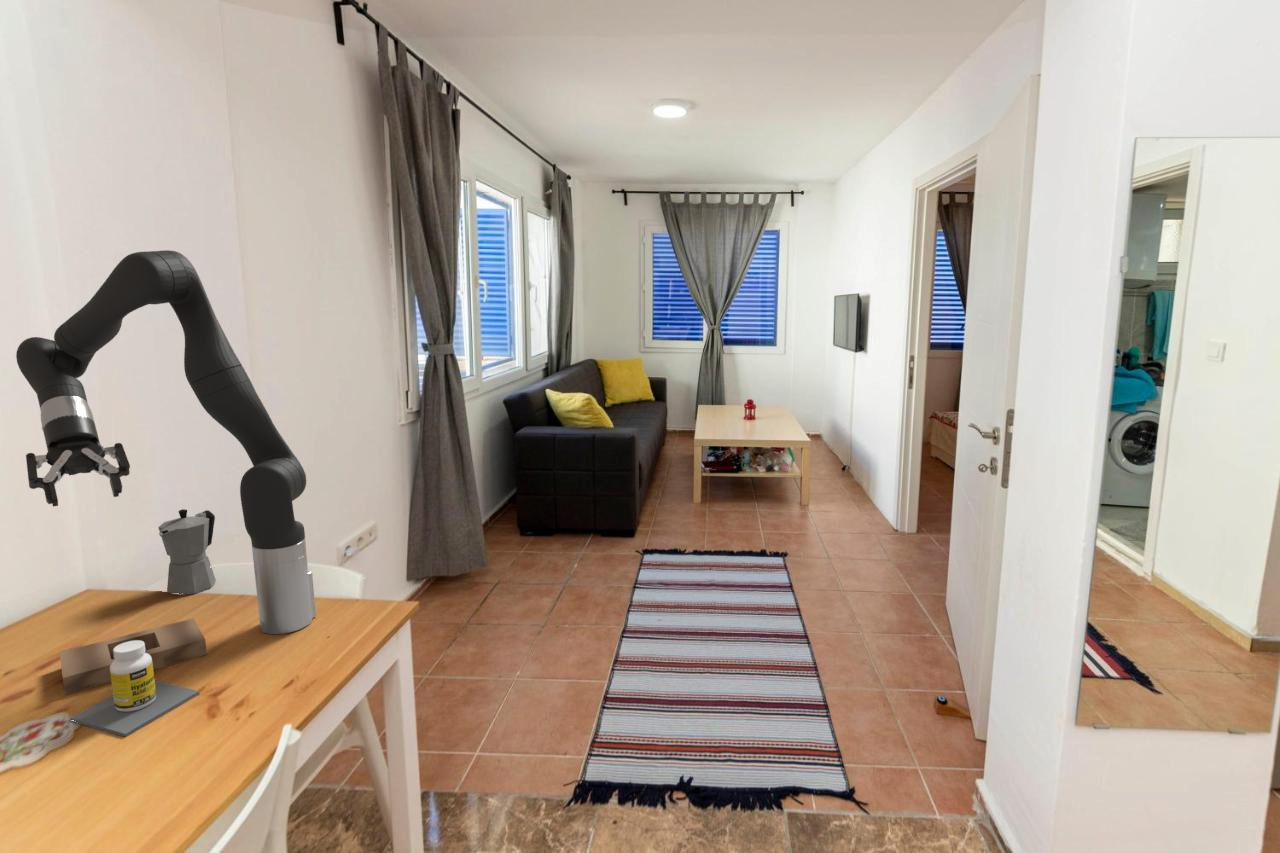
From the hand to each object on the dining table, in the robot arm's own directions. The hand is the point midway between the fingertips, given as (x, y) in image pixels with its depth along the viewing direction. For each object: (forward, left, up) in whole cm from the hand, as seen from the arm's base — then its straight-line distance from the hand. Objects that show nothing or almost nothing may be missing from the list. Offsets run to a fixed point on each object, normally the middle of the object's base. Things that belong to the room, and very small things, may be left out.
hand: (86, 499), depth 123 cm
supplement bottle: (+11, +23, -28) cm, 38 cm away
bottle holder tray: (+1, +9, -29) cm, 30 cm away
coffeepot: (-27, -11, -29) cm, 41 cm away
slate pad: (+11, +23, -29) cm, 38 cm away
